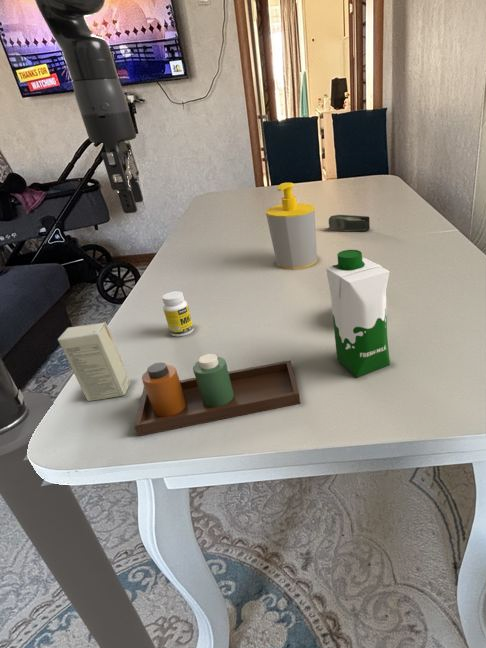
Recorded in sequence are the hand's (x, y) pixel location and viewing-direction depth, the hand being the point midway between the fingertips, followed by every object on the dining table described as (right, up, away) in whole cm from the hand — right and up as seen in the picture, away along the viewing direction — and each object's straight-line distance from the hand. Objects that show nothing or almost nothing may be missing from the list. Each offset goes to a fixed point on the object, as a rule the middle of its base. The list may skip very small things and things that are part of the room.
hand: (134, 207), depth 88 cm
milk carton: (+43, -29, -3) cm, 52 cm away
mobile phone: (+37, +13, +68) cm, 78 cm away
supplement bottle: (+5, -23, +11) cm, 26 cm away
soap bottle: (+24, -2, +45) cm, 51 cm away
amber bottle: (+12, -36, -12) cm, 40 cm away
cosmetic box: (-1, -34, -7) cm, 35 cm away
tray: (+20, -35, -11) cm, 42 cm away
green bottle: (+19, -35, -11) cm, 41 cm away
